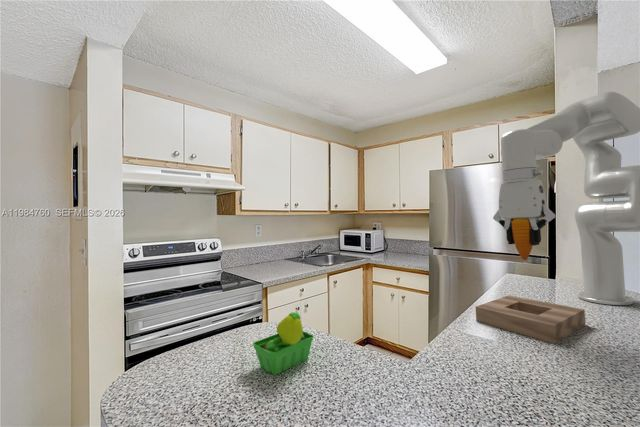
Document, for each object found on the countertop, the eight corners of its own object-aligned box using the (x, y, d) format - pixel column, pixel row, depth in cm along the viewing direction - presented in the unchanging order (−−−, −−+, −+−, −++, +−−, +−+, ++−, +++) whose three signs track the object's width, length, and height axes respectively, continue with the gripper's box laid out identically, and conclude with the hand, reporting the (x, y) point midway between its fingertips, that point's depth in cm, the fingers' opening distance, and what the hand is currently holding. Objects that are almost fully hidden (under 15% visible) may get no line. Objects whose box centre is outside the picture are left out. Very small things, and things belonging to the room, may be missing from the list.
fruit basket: (294, 348, 68) (292, 300, 68) (320, 360, 61) (317, 307, 62) (252, 367, 60) (249, 313, 60) (277, 383, 54) (274, 322, 54)
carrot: (541, 260, 74) (537, 203, 74) (521, 261, 74) (517, 204, 75) (527, 258, 79) (523, 204, 79) (509, 259, 79) (505, 205, 80)
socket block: (509, 308, 89) (508, 295, 89) (585, 325, 73) (584, 309, 73) (476, 321, 79) (475, 306, 79) (555, 343, 64) (554, 325, 64)
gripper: (564, 172, 72) (569, 245, 71) (494, 181, 86) (498, 242, 86) (551, 170, 68) (556, 247, 68) (480, 180, 83) (484, 244, 82)
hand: (523, 243), depth 77 cm, fingers closed on carrot, 4 cm apart
